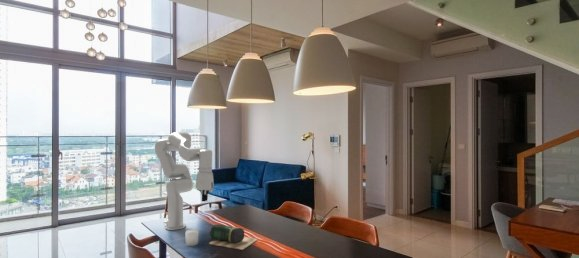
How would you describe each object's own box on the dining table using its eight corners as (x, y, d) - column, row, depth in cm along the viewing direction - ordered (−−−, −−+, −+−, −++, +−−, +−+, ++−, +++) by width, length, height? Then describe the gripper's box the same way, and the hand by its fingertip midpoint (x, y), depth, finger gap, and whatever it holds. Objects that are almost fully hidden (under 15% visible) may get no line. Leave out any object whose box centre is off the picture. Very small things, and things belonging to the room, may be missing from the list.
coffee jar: (208, 239, 176) (234, 245, 167) (210, 225, 177) (235, 230, 168) (220, 236, 184) (245, 241, 175) (221, 223, 185) (246, 227, 176)
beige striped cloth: (209, 244, 172) (209, 243, 172) (225, 235, 187) (225, 234, 187) (242, 249, 164) (242, 248, 164) (257, 240, 178) (257, 239, 178)
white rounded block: (182, 244, 171) (182, 232, 172) (191, 240, 178) (191, 228, 178) (192, 246, 169) (192, 233, 169) (201, 242, 175) (200, 230, 175)
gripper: (191, 170, 183) (190, 200, 183) (211, 172, 177) (210, 204, 177) (199, 168, 190) (198, 197, 190) (219, 170, 184) (218, 201, 184)
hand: (204, 200), depth 184 cm, fingers closed
